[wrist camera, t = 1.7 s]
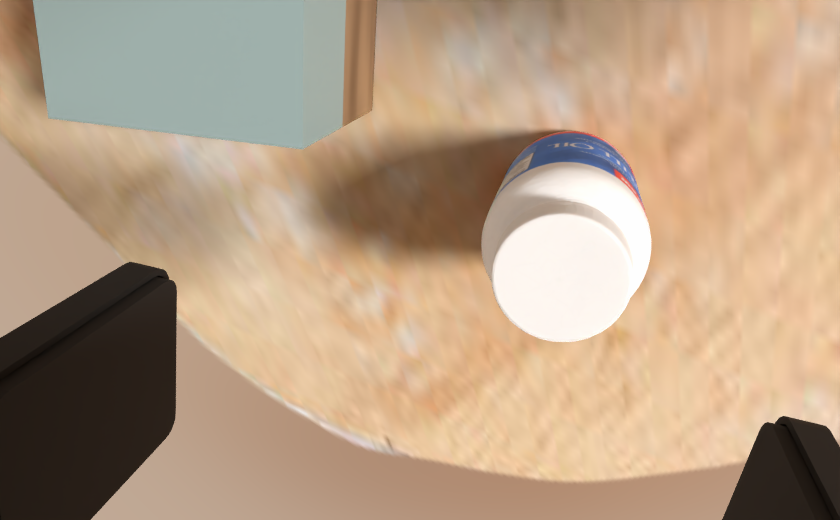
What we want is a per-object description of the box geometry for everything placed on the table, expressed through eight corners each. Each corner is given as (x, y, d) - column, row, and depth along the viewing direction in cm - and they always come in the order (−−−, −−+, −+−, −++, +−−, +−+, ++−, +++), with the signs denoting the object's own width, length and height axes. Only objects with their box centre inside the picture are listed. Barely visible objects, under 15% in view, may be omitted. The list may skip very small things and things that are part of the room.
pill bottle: (664, 173, 27) (709, 260, 18) (585, 277, 29) (590, 399, 20) (547, 101, 27) (534, 153, 18) (477, 210, 29) (435, 304, 20)
